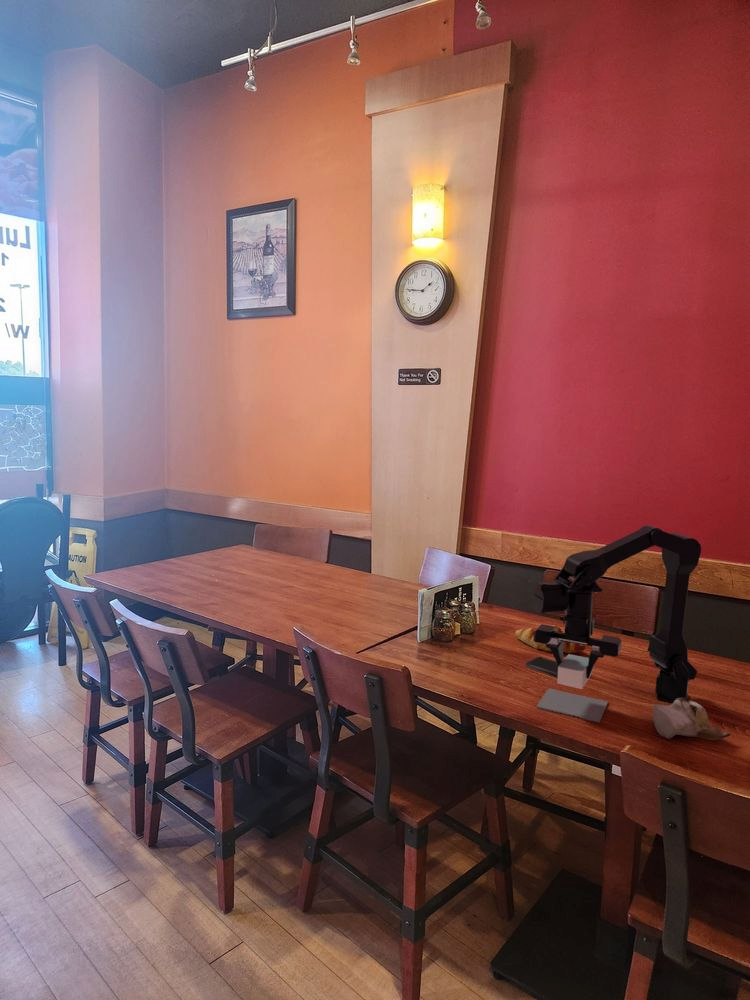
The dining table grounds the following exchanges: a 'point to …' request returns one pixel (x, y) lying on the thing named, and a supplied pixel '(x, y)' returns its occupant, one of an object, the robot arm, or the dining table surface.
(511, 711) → the dining table surface
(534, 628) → the croissant
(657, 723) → the ceramic sculpture
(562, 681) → the card box
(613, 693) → the dining table surface
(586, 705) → the mat
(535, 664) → the phone
